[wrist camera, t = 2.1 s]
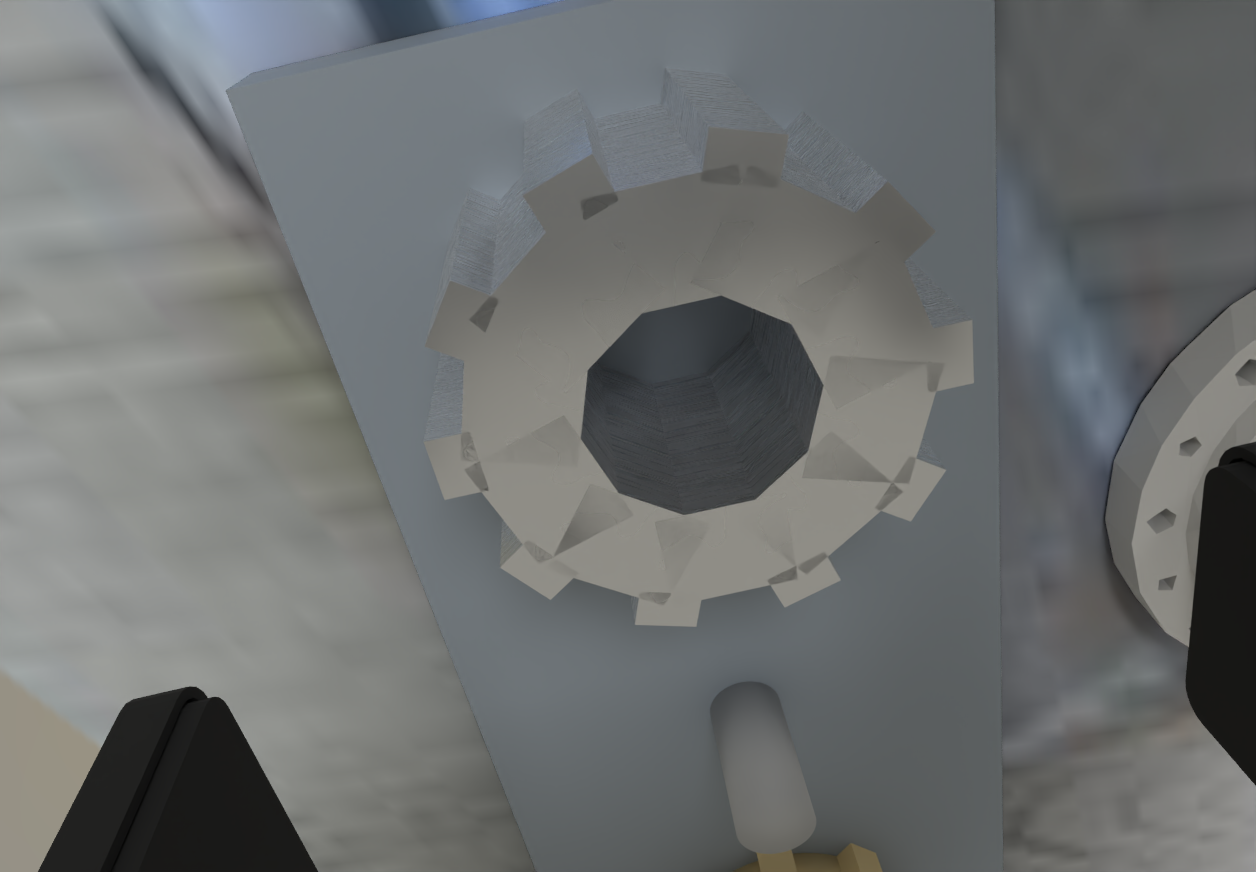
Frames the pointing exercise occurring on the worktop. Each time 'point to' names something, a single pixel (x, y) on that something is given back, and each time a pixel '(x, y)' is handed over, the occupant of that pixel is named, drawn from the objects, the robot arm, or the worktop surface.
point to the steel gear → (701, 403)
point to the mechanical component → (1181, 463)
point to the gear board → (659, 351)
